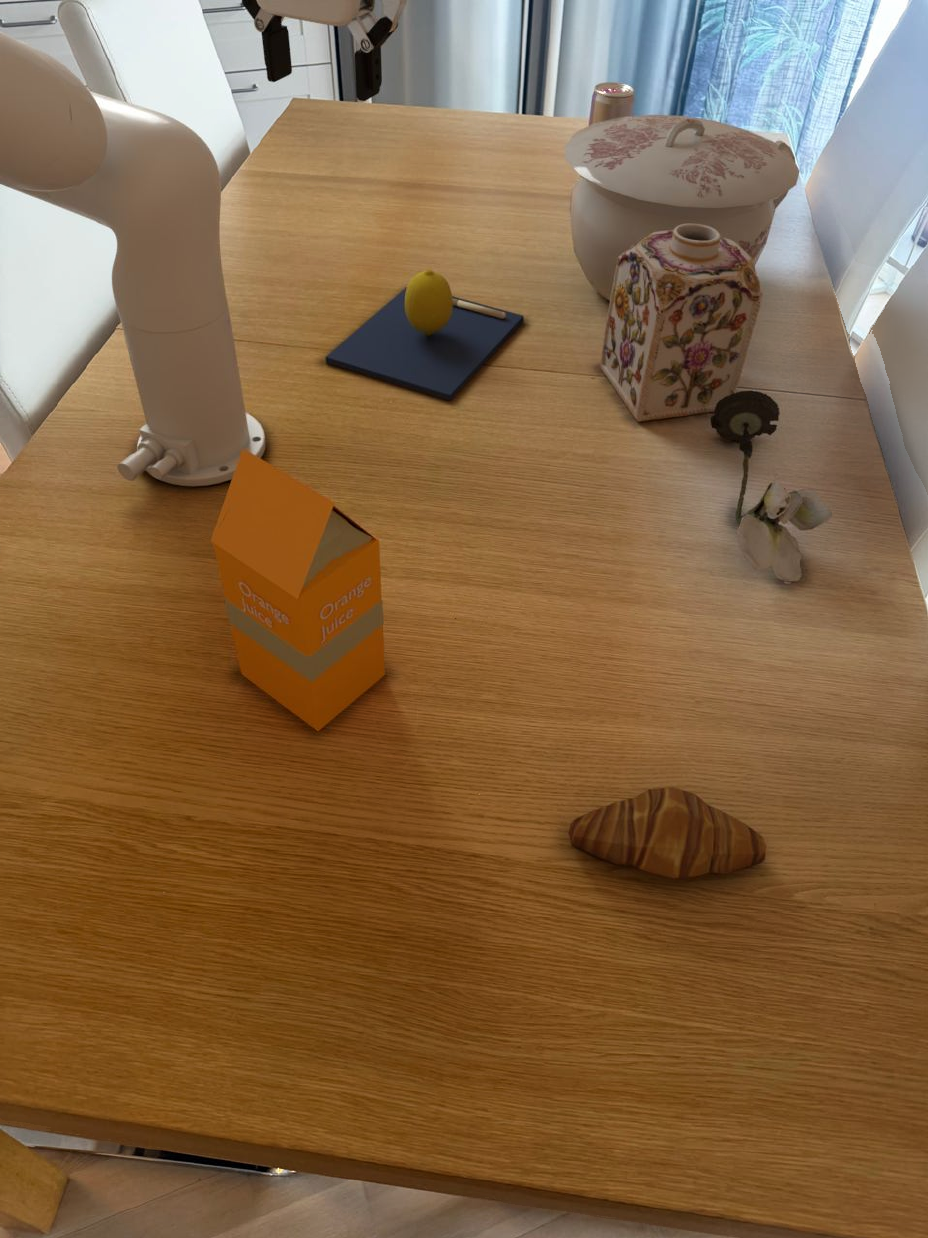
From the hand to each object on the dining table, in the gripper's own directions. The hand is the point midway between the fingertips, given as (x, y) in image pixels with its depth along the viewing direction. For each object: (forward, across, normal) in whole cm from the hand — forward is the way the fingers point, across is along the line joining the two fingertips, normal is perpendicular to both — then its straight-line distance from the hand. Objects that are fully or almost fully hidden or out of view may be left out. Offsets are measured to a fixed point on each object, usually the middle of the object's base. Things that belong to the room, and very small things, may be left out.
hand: (323, 86), depth 87 cm
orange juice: (+28, +23, -42) cm, 56 cm away
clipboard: (+28, +7, +8) cm, 30 cm away
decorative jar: (+28, +35, +12) cm, 47 cm away
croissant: (+28, +53, -44) cm, 75 cm away
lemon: (+28, +7, +8) cm, 30 cm away
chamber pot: (+28, +27, +34) cm, 52 cm away
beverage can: (+28, +10, +58) cm, 65 cm away
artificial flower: (+28, +50, -4) cm, 57 cm away
